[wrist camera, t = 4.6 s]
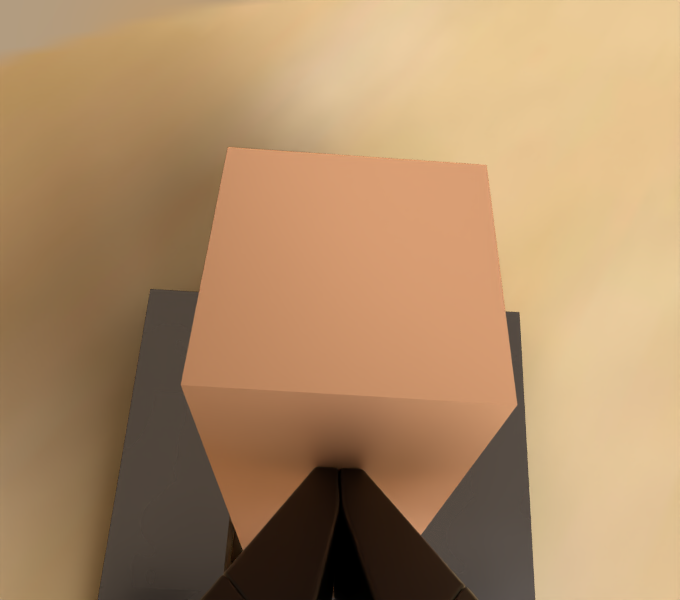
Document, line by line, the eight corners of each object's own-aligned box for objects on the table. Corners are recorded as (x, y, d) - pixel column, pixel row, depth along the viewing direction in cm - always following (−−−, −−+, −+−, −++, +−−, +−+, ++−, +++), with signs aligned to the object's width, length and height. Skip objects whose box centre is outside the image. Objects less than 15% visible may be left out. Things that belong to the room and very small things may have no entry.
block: (393, 571, 18) (517, 405, 8) (248, 563, 18) (181, 384, 8) (392, 432, 20) (486, 164, 10) (263, 425, 20) (228, 147, 10)
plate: (524, 731, 17) (543, 749, 16) (95, 711, 17) (75, 728, 16) (505, 326, 21) (519, 312, 20) (160, 304, 21) (150, 289, 20)
